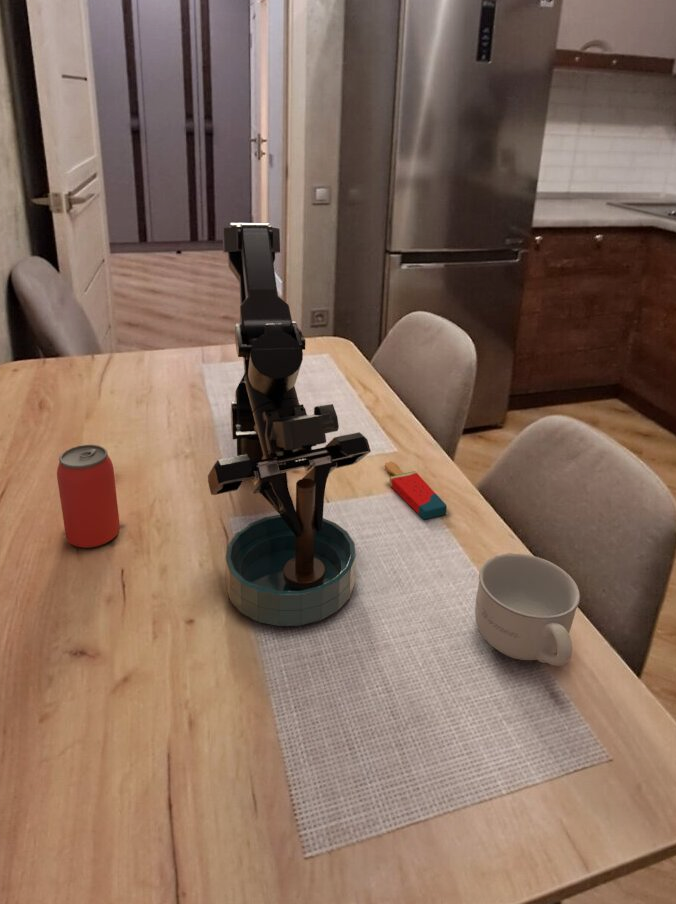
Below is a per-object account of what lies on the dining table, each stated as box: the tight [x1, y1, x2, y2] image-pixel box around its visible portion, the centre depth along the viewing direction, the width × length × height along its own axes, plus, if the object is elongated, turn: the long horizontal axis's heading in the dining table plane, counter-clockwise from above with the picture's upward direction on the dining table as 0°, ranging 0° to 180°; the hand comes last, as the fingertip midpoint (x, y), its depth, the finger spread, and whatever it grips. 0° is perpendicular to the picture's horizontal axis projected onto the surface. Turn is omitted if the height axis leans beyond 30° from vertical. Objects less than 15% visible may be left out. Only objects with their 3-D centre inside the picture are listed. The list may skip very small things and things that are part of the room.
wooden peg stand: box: [283, 478, 325, 590], centre depth 78 cm, size 5×5×13 cm
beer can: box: [56, 444, 121, 549], centre depth 85 cm, size 7×7×12 cm
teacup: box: [474, 552, 581, 667], centre depth 72 cm, size 14×11×8 cm
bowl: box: [224, 514, 357, 627], centre depth 80 cm, size 15×15×5 cm
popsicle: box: [384, 461, 448, 520], centre depth 102 cm, size 4×2×15 cm
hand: (309, 533), depth 77 cm, fingers closed on wooden peg stand, 2 cm apart
